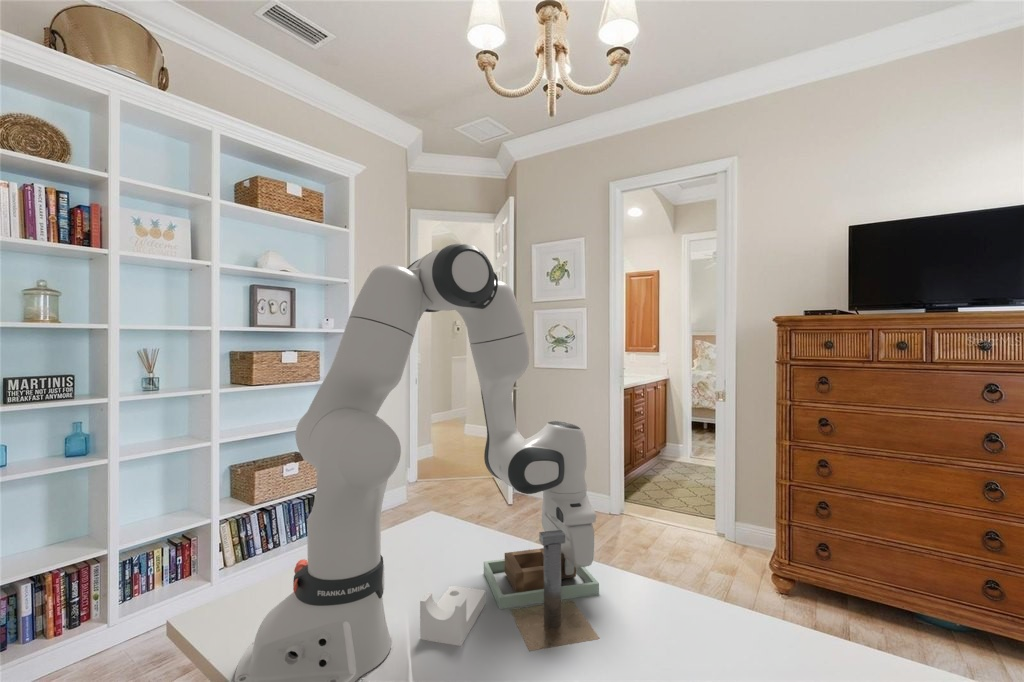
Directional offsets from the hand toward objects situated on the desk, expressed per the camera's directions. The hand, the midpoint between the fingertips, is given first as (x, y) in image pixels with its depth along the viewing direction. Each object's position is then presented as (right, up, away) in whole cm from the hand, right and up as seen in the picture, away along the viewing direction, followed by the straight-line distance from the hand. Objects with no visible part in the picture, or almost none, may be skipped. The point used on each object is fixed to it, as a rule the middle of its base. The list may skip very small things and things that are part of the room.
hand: (565, 568), depth 98 cm
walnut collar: (-5, -1, -1) cm, 5 cm away
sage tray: (-6, -3, -1) cm, 6 cm away
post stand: (-4, -3, -16) cm, 16 cm away
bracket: (-21, -4, -14) cm, 25 cm away
